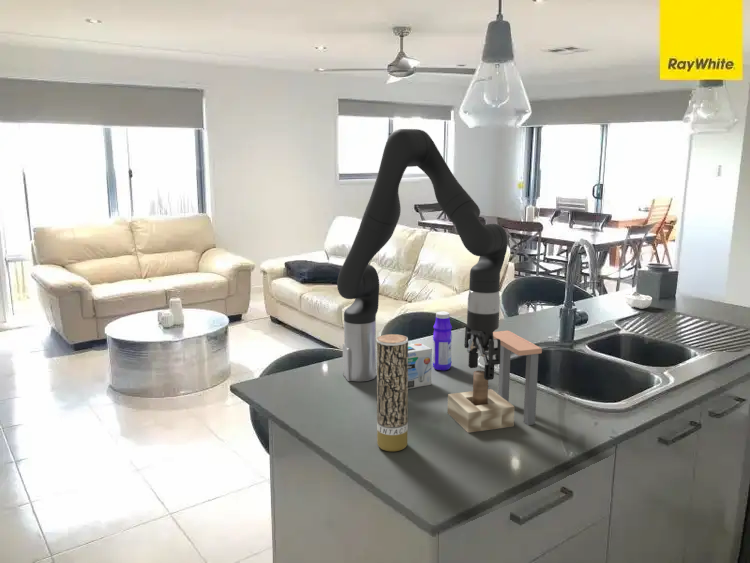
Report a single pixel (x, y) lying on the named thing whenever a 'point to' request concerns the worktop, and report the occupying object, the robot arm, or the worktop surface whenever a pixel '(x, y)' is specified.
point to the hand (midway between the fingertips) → (480, 373)
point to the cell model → (638, 300)
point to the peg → (480, 388)
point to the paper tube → (392, 392)
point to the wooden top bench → (531, 351)
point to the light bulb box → (419, 365)
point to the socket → (480, 412)
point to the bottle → (442, 341)
